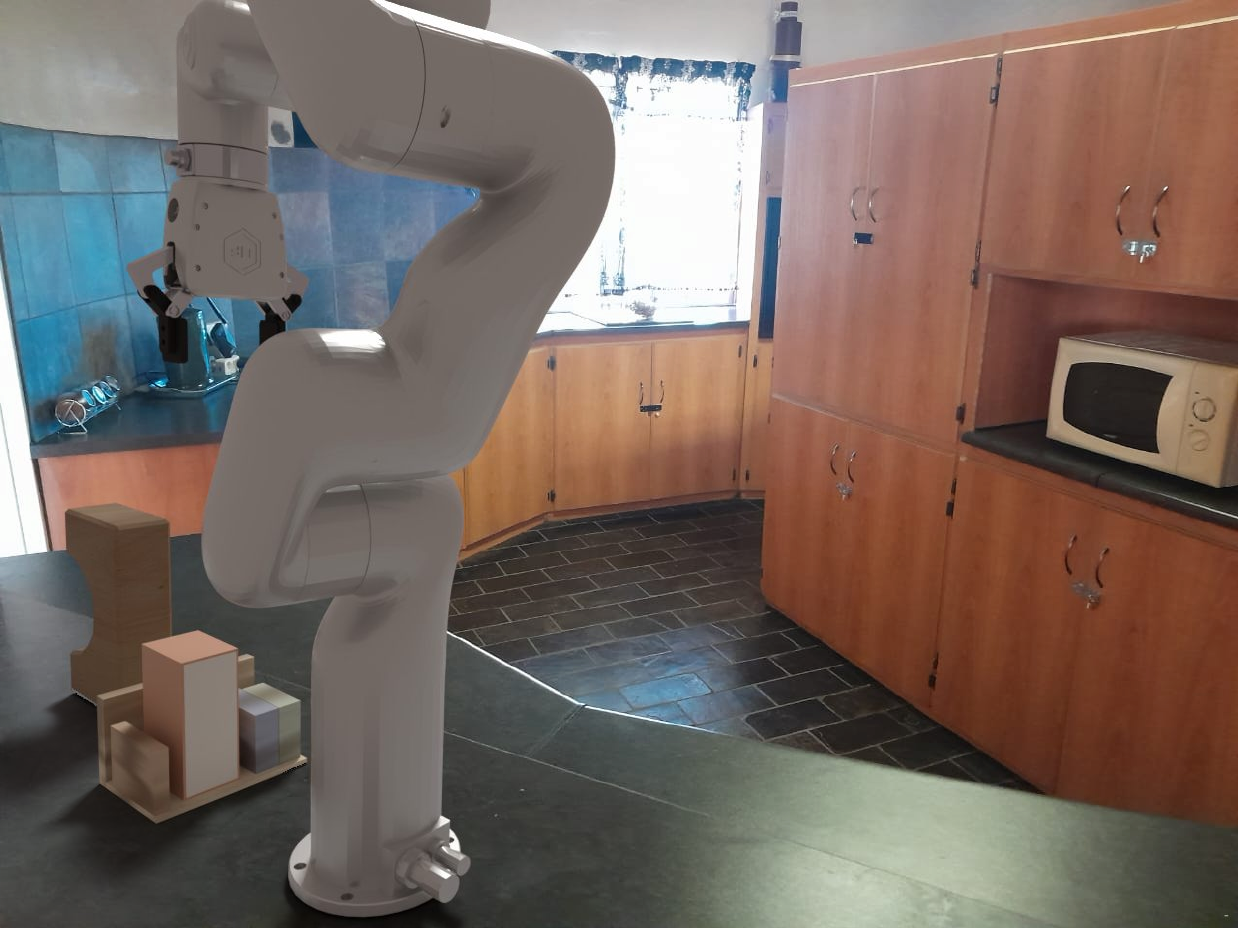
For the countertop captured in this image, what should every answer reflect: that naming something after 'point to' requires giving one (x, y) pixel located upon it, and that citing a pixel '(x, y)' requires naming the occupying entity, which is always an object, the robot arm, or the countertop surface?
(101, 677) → the decorative block
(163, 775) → the shelf
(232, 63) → the robot arm
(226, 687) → the tall pink rectangular prism
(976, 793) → the countertop surface
